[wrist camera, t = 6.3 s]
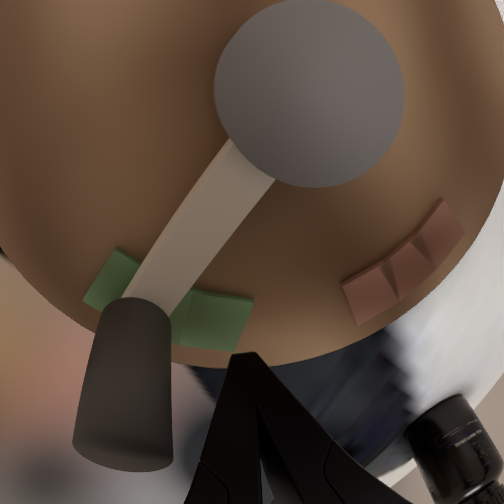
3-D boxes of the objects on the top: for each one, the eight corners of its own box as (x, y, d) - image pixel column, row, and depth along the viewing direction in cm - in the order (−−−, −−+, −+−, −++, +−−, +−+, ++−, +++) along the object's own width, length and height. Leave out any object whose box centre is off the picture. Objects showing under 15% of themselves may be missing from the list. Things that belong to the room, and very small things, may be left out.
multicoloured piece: (284, -16, 5) (399, -107, 1) (396, 89, 7) (549, 125, 3) (69, 296, 8) (20, 434, 4) (180, 349, 10) (187, 485, 6)
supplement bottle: (459, 385, 20) (524, 490, 10) (465, 402, 23) (517, 488, 13) (393, 433, 21) (445, 542, 11) (411, 442, 25) (454, 530, 14)
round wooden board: (361, -156, 2) (376, -169, 1) (516, 202, 12) (534, 214, 11) (-81, 70, 4) (-104, 74, 3) (195, 400, 14) (197, 424, 13)
